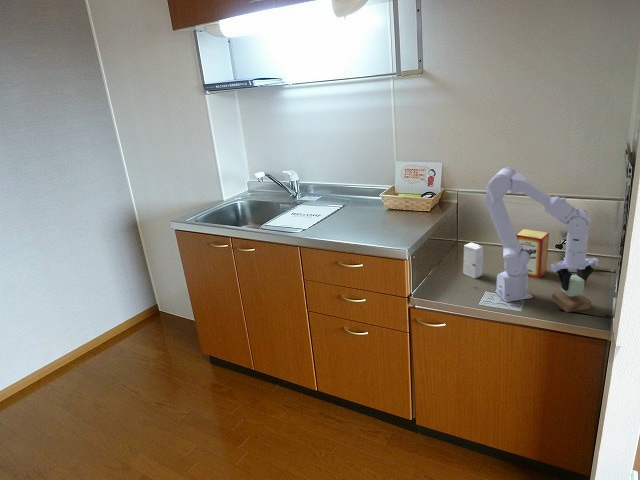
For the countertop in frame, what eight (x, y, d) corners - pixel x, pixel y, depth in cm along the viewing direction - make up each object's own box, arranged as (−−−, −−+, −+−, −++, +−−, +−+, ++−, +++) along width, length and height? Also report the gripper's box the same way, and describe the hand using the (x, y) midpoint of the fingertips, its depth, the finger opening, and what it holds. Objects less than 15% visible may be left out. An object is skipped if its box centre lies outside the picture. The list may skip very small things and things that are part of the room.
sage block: (569, 296, 146) (570, 282, 144) (561, 290, 150) (562, 276, 149) (583, 294, 146) (584, 280, 145) (574, 288, 151) (575, 274, 149)
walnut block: (566, 313, 146) (567, 305, 145) (551, 301, 154) (552, 293, 153) (590, 309, 147) (591, 301, 146) (574, 297, 154) (575, 289, 153)
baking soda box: (513, 272, 174) (515, 233, 169) (520, 266, 179) (522, 227, 173) (539, 278, 168) (542, 238, 162) (546, 271, 172) (549, 232, 166)
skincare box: (462, 273, 178) (462, 245, 174) (470, 270, 180) (470, 241, 176) (475, 279, 173) (475, 249, 169) (483, 275, 175) (483, 246, 171)
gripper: (561, 257, 139) (558, 297, 144) (607, 250, 140) (602, 290, 145) (548, 249, 145) (545, 287, 150) (591, 242, 146) (587, 280, 151)
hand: (572, 288), depth 148 cm, fingers closed on sage block, 4 cm apart
